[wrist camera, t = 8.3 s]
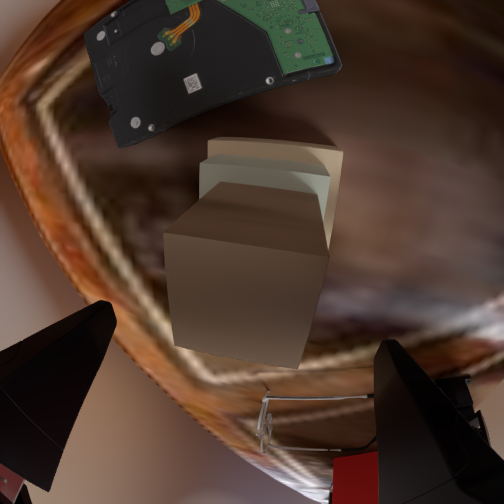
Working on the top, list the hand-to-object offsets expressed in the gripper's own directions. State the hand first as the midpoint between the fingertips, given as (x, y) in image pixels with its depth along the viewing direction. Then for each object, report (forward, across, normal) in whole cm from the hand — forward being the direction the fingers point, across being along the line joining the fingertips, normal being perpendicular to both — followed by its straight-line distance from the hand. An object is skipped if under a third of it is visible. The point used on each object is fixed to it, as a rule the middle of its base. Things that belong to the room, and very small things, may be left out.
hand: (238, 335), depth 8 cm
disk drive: (+13, +5, -11) cm, 18 cm away
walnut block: (+6, 0, 0) cm, 6 cm away
